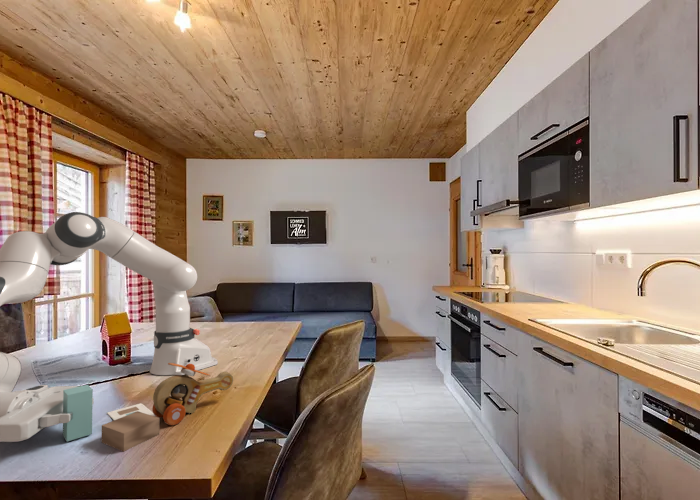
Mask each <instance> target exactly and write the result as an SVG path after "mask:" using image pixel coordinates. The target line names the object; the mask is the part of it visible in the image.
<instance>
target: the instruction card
mask: <svg viewBox="0 0 700 500" xmlns="http://www.w3.org/2000/svg"><path fill="white" fill-rule="evenodd" d="M137 411H138V412H142V413H145V414H148V415H151V416H154V417H157V416H156V415H154V413H153V411H152V410H151V409H149V408H148V407H147V406H146V405H144V404H143V403H141V402H140V403H137V404H133V405H130V406H126V407H122V408H119V409H118V408H117V409H116V410H115V409H114V410H112V411H109V412H106V414H107V415H108V416H109V417H110V418H111V419H112V421H114V420H117V419H119V418H122V417H124V416H127V415H129V414H132V413H134V412H137Z"/></svg>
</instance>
